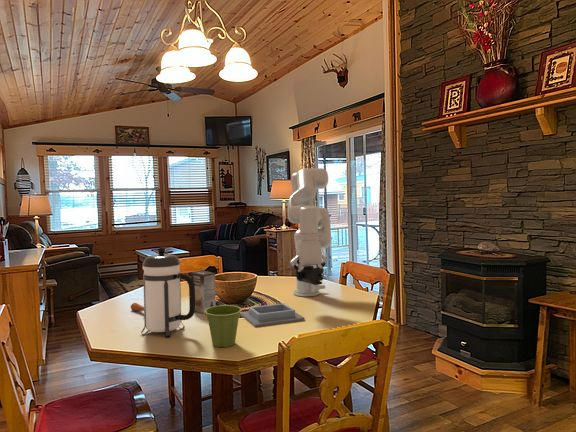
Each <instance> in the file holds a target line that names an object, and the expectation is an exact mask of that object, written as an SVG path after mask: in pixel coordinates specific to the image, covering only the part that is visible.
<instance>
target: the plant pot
mask: <svg viewBox="0 0 576 432" xmlns="http://www.w3.org/2000/svg"><path fill="white" fill-rule="evenodd" d="M242 311H243V309H242V307H240V306H238V305H231V304H230V305H229V304H226V305H225V304H221V305H215V306H213V307H210V308H207V309H206V310H205V314H206V319H207V321H208V327H209V331H210V337H211V338H210V339H211V343H212V344H211V345H212V346H214V347H216V348H222V347H224V348H229V347H232V346H234V345H235V343H236V341H237V340H236V339H237V332H238V325H239V320H240V316H241V315H240V312H242Z"/></svg>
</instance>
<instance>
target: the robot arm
mask: <svg viewBox="0 0 576 432" xmlns="http://www.w3.org/2000/svg"><path fill="white" fill-rule="evenodd" d="M328 183H329V174H328V171H327V170H326V168H322V167H319V168H317V167H315V168H313V167H312V168H302V169H300V170H299V171H297V172H294V173H292V175H291V177H290V185H291V188H292V191H293V194H292V195H290V197H289V199H288V201H287V219H288V222H290V223H291V224H297V225H298V226H299V229H298V230H296V231H295V233H294V235H293V237H294V238H293V239H294V245H295V247H294V248H295V256H294V257H293V258H292V259H291V260H290V261H289V263H290V265H291V266H292V267H291V268H293V269H294V270H295V271H297V277H296V289H294V290H293V292H292V293H293V295H294V296H297V297H307V298H308V297H315V296H318V295H320V290H325V289H326V284H319V285H313V284H309V283H306V282H302V272H301V269H302V268H303V266H313V267H314V268H321V269H323V270H324V267H326V264H327V262H328V261H329V259H328V258H327V257H326V256H325V255H323V254H322V249H328V248H329V247H330V246H331V241H332V240H331V238H332V236H331V235H332V234H331V220H330V212H329V210H328V209H327V208H325V207H319V206H318V205H315V204H314V203H315V202H314V201H315V200H314V198H315V197H316V195H317V190H318V189H319V190H322V189H325V188H326V187H327V186H328ZM321 276H323V273H321V274H318V277H321Z"/></svg>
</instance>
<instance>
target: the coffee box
mask: <svg viewBox="0 0 576 432" xmlns="http://www.w3.org/2000/svg"><path fill="white" fill-rule="evenodd" d="M190 277H191V278H192V280H193V282H194V286H195V312H197V313H201V314H203V315H205V314H206V313H205V310H206V309H207V308H210V307H213V306H216V273H215V272H211V271H206V270H199V271H193V272H191V273H190Z"/></svg>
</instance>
